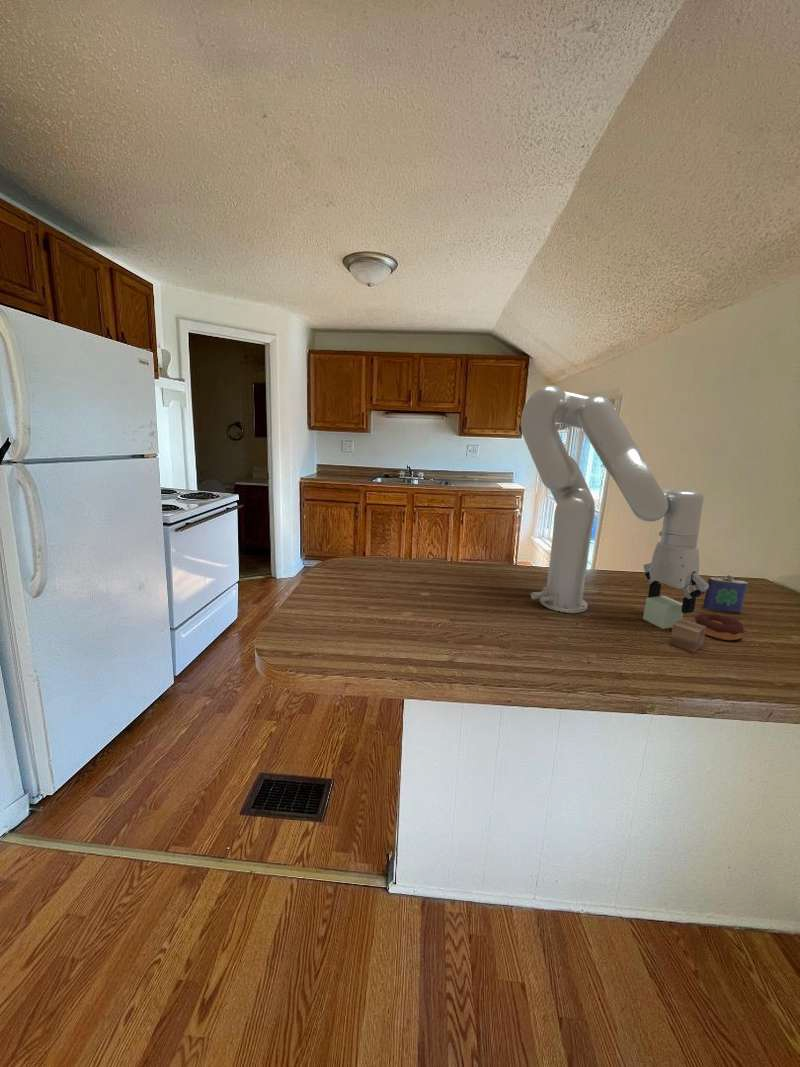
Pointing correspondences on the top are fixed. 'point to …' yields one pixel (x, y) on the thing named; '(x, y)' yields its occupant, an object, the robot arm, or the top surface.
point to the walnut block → (687, 635)
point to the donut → (720, 626)
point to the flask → (725, 595)
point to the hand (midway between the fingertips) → (669, 605)
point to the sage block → (662, 611)
